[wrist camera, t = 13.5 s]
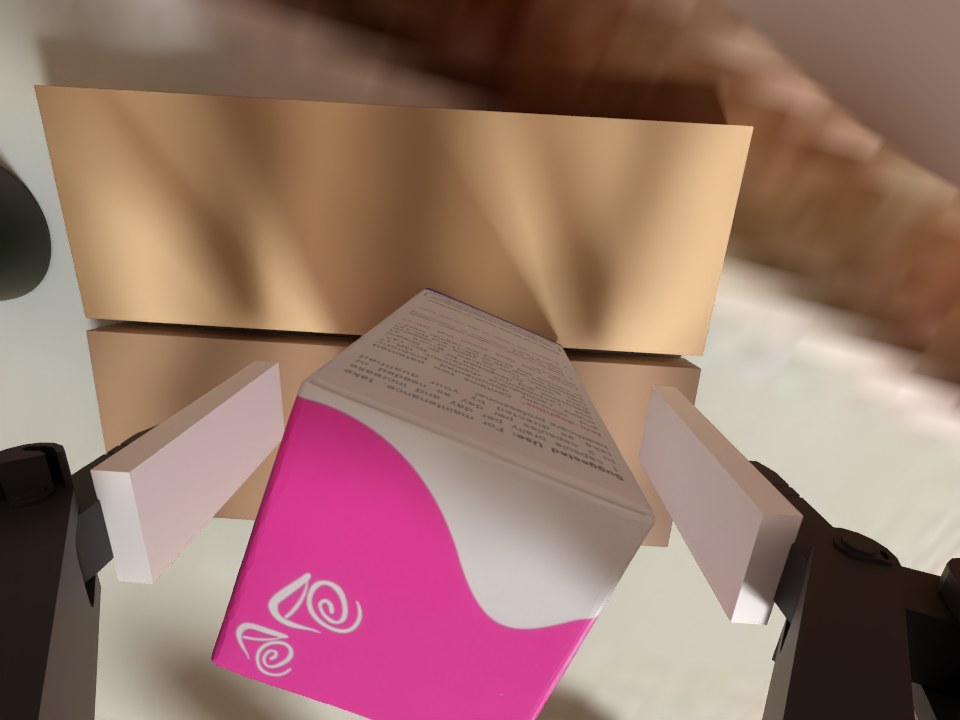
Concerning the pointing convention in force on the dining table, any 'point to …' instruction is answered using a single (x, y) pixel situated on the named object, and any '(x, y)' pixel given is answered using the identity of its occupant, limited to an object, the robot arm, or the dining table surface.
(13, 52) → the dining table surface
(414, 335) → the supplement box
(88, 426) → the dining table surface
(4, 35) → the dining table surface
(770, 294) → the dining table surface
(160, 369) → the board
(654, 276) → the laid plank
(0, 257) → the wine bottle
